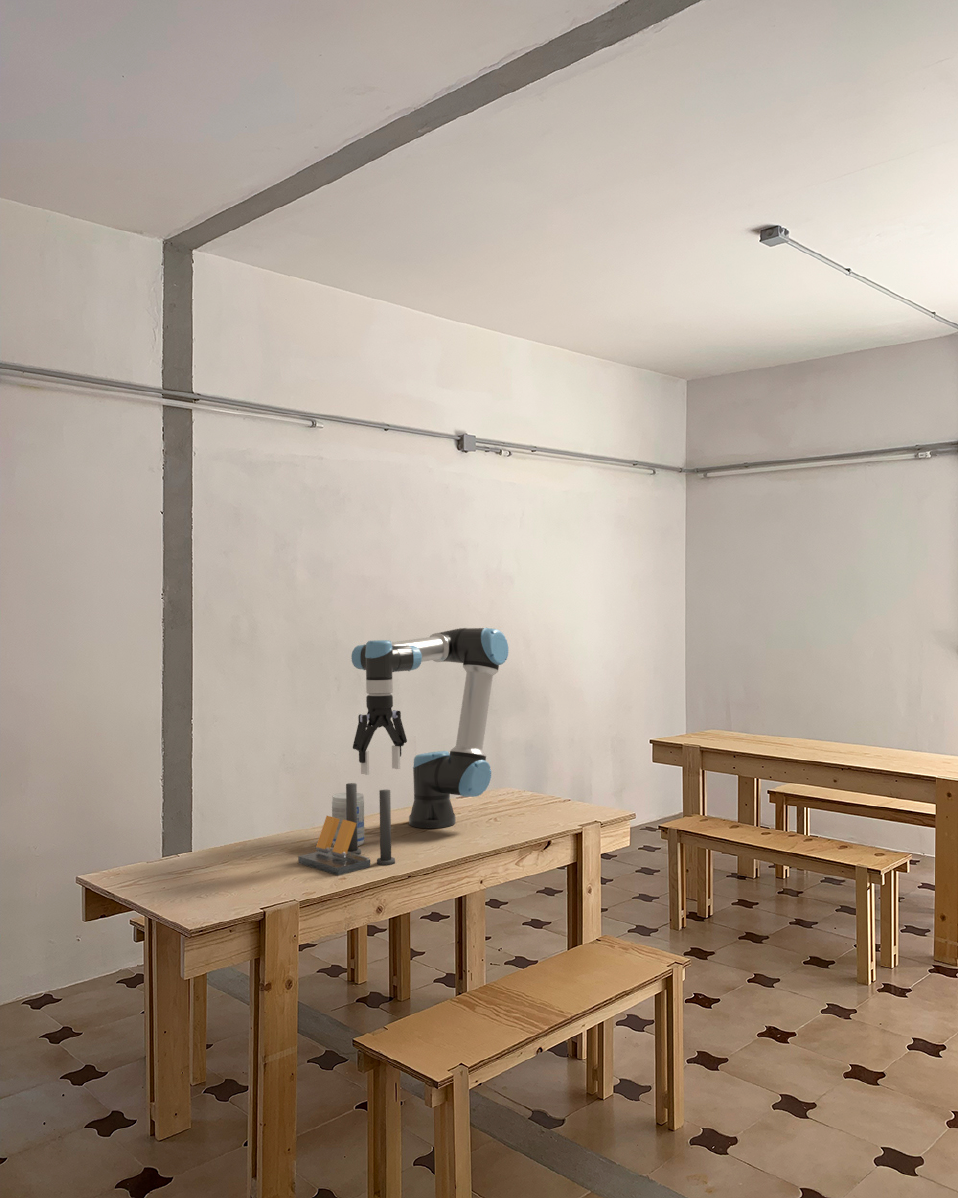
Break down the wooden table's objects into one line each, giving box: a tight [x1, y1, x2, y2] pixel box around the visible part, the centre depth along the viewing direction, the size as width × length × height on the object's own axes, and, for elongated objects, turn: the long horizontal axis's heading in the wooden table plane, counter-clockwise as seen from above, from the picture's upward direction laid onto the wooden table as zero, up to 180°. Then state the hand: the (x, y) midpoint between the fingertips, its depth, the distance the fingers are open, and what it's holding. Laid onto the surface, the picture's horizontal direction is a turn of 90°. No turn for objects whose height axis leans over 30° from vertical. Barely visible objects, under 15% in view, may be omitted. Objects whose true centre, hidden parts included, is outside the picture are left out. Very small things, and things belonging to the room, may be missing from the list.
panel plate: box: [297, 846, 371, 876], centre depth 267 cm, size 11×18×3 cm, turn 45°
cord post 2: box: [376, 789, 396, 866], centre depth 268 cm, size 5×5×20 cm
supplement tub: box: [331, 792, 365, 847], centre depth 290 cm, size 10×10×15 cm
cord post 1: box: [345, 782, 362, 855], centre depth 279 cm, size 5×5×20 cm
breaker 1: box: [332, 820, 356, 858], centre depth 267 cm, size 2×4×10 cm, turn 45°
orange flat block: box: [315, 815, 340, 853], centre depth 272 cm, size 2×4×10 cm, turn 46°
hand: (380, 771), depth 277 cm, fingers open, 11 cm apart
